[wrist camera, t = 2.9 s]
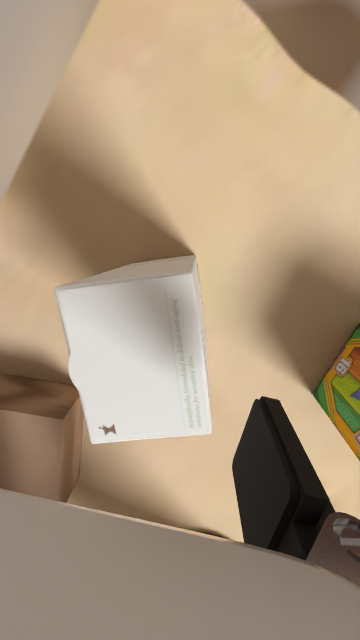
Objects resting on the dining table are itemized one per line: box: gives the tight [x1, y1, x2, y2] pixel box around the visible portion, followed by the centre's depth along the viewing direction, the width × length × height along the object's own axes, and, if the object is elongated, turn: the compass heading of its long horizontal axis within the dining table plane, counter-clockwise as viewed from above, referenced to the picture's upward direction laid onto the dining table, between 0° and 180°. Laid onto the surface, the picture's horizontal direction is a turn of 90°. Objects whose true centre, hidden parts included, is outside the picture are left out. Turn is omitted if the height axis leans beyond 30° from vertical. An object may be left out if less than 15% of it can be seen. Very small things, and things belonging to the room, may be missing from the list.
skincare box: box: [54, 255, 212, 444], centre depth 21 cm, size 8×7×16 cm
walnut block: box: [0, 373, 84, 503], centre depth 30 cm, size 12×12×6 cm
